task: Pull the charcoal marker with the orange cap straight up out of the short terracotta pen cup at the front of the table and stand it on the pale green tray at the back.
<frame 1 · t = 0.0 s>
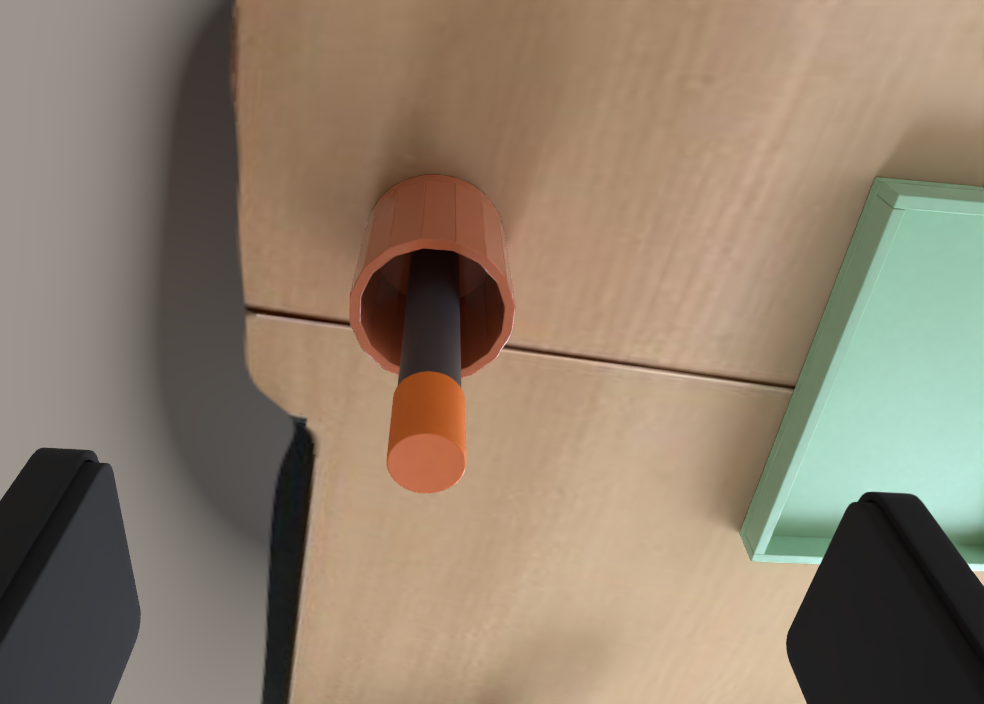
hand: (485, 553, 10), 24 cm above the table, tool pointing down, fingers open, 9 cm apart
tray: (940, 390, 40), on the table
marker: (435, 248, 33), point 1 cm above the table, touching pen cup
pen cup: (435, 240, 34), on the table, touching marker
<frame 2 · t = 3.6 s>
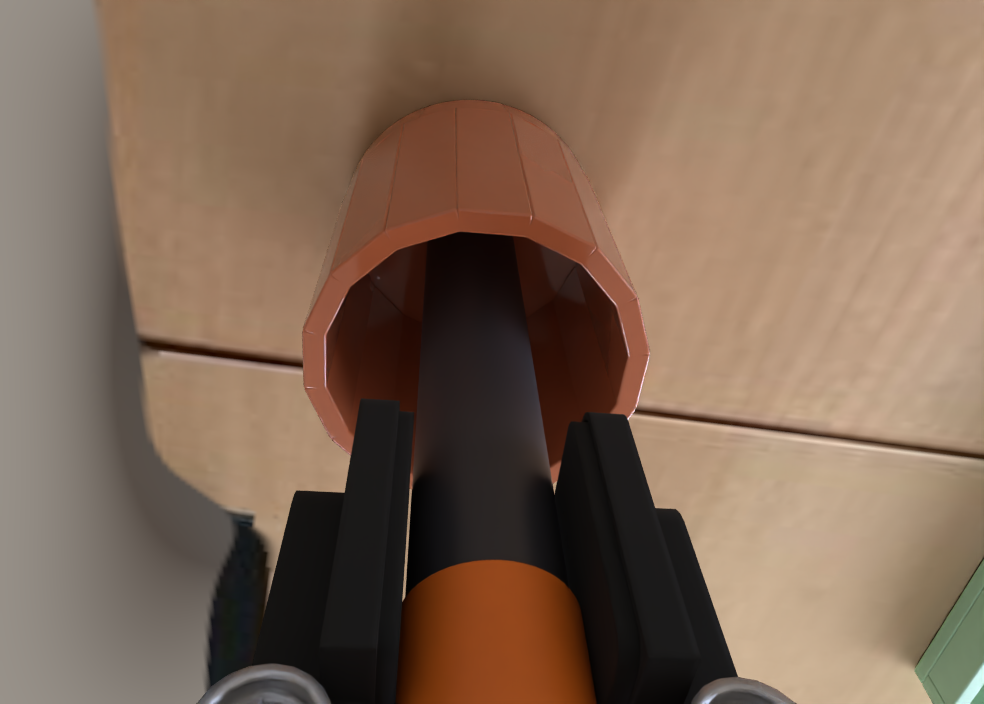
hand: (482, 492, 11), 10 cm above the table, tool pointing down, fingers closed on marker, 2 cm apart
marker: (470, 237, 19), point 1 cm above the table, touching gripper, pen cup
pen cup: (469, 223, 19), on the table, touching marker
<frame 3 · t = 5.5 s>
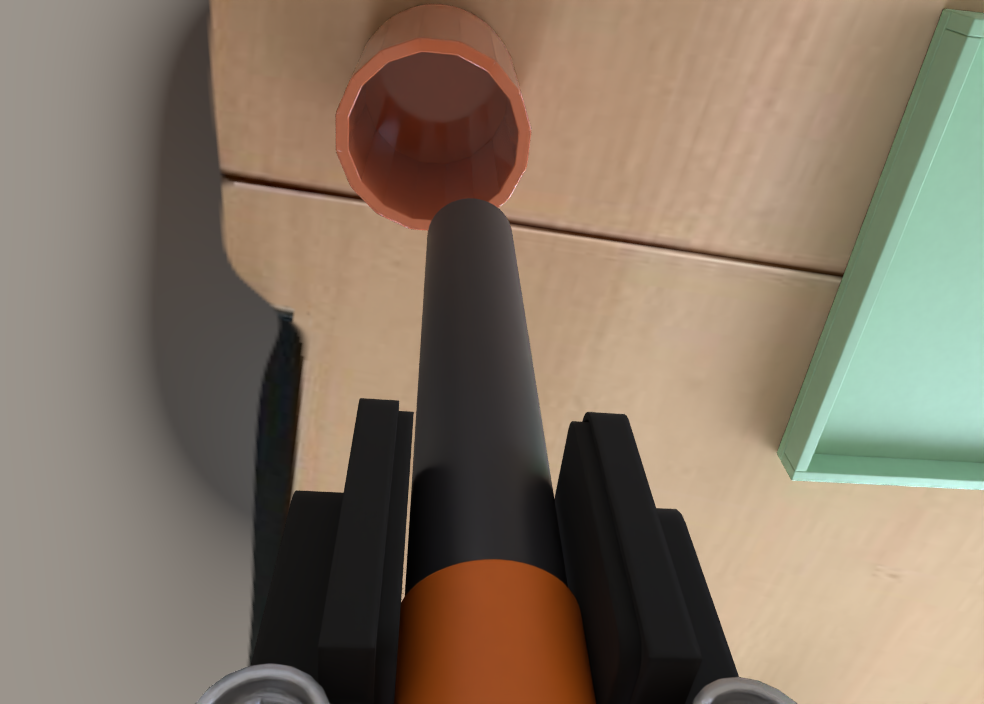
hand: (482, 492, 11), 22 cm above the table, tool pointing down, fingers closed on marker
marker: (469, 237, 19), point 13 cm above the table, touching gripper
pen cup: (437, 89, 30), on the table
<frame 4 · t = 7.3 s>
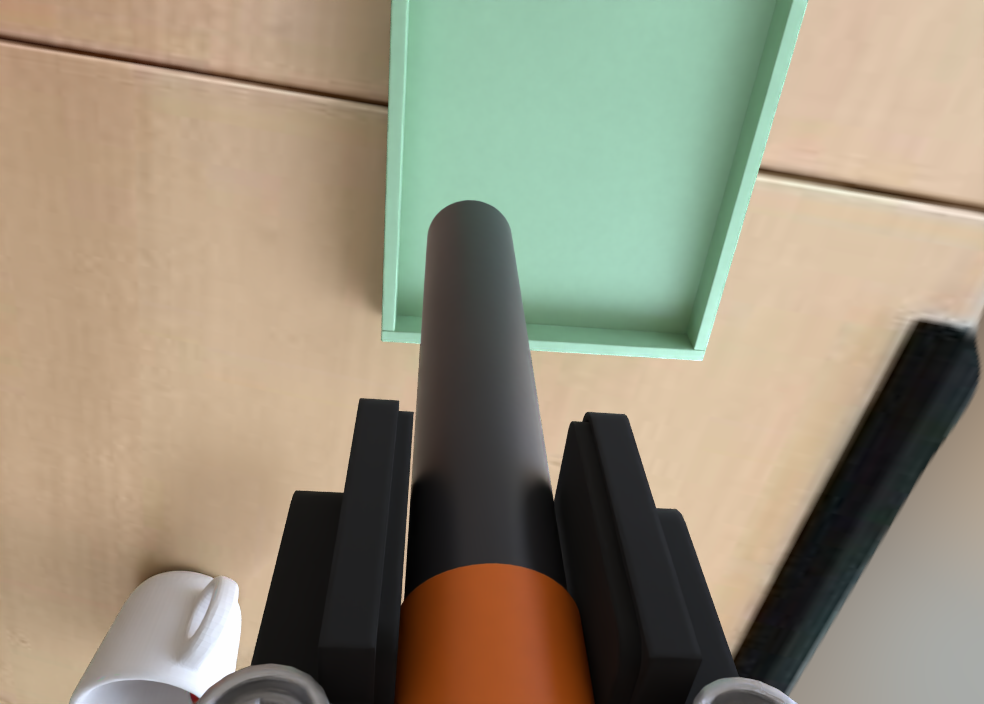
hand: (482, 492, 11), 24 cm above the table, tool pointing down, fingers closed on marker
tray: (574, 111, 33), on the table
marker: (469, 238, 19), point 16 cm above the table, touching gripper
cup: (201, 583, 47), on the table
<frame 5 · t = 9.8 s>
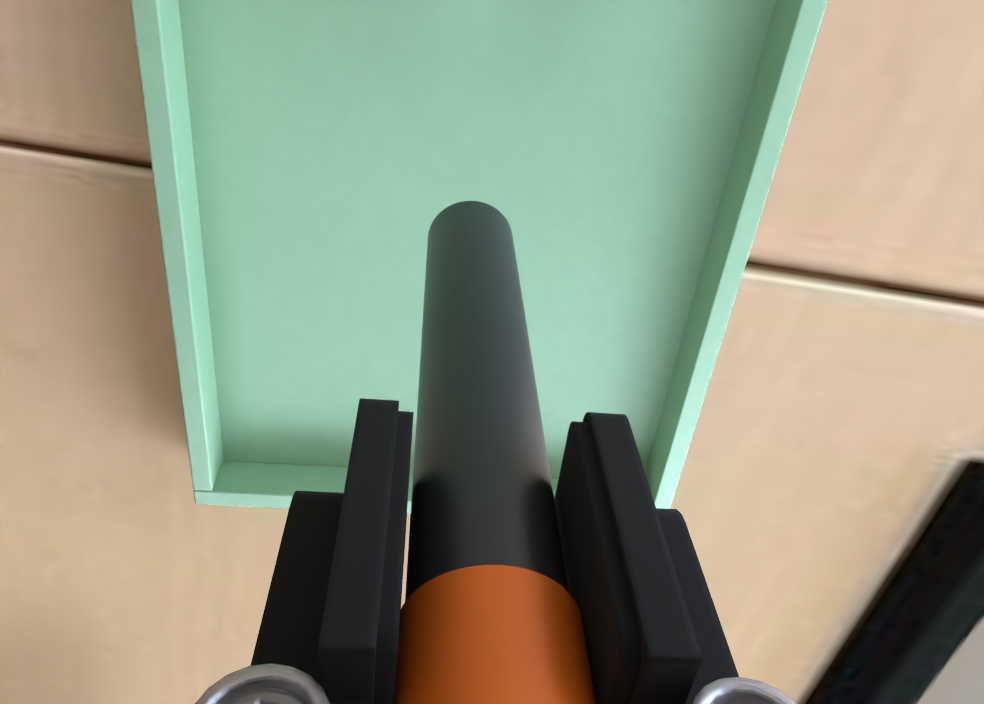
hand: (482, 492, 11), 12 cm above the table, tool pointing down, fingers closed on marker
tray: (464, 179, 22), on the table
marker: (470, 239, 19), point 4 cm above the table, touching gripper
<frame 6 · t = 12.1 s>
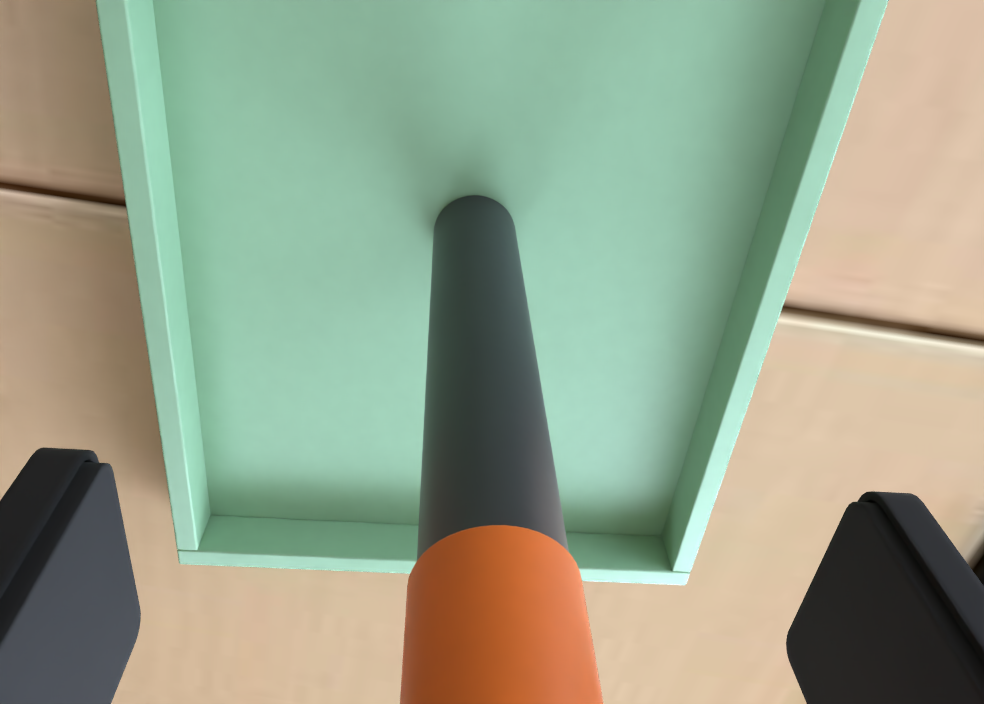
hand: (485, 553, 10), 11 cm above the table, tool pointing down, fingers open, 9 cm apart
tray: (471, 218, 20), on the table
marker: (474, 233, 19), point 1 cm above the table, touching tray
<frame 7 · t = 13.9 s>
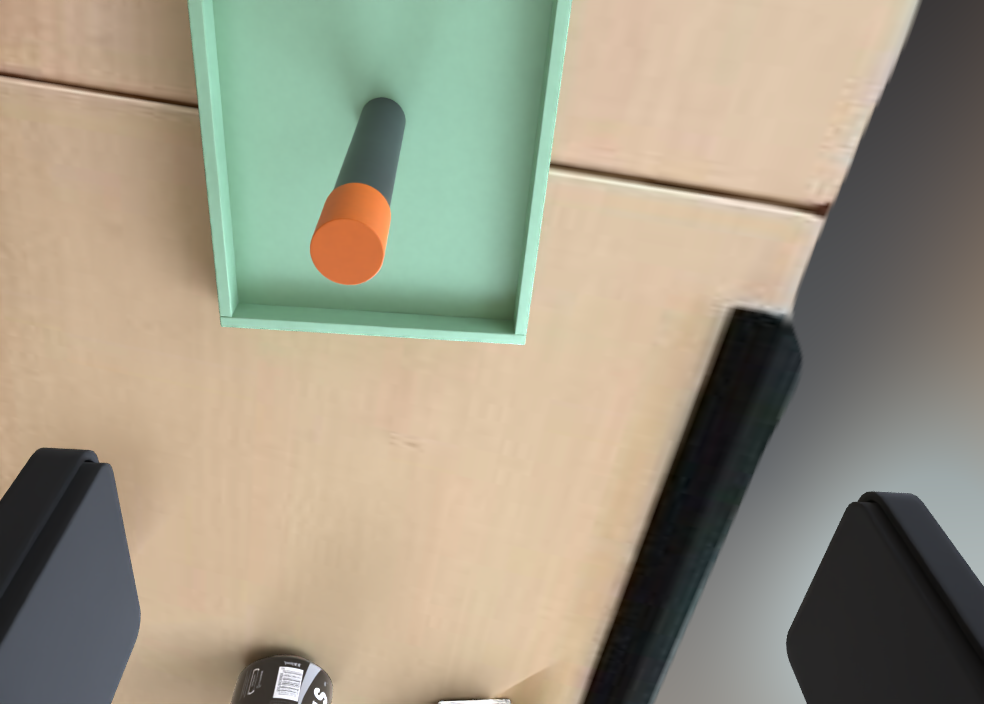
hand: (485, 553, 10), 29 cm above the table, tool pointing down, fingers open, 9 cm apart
tray: (382, 113, 36), on the table
beverage can: (288, 672, 57), on the table
marker: (383, 119, 35), point 1 cm above the table, touching tray
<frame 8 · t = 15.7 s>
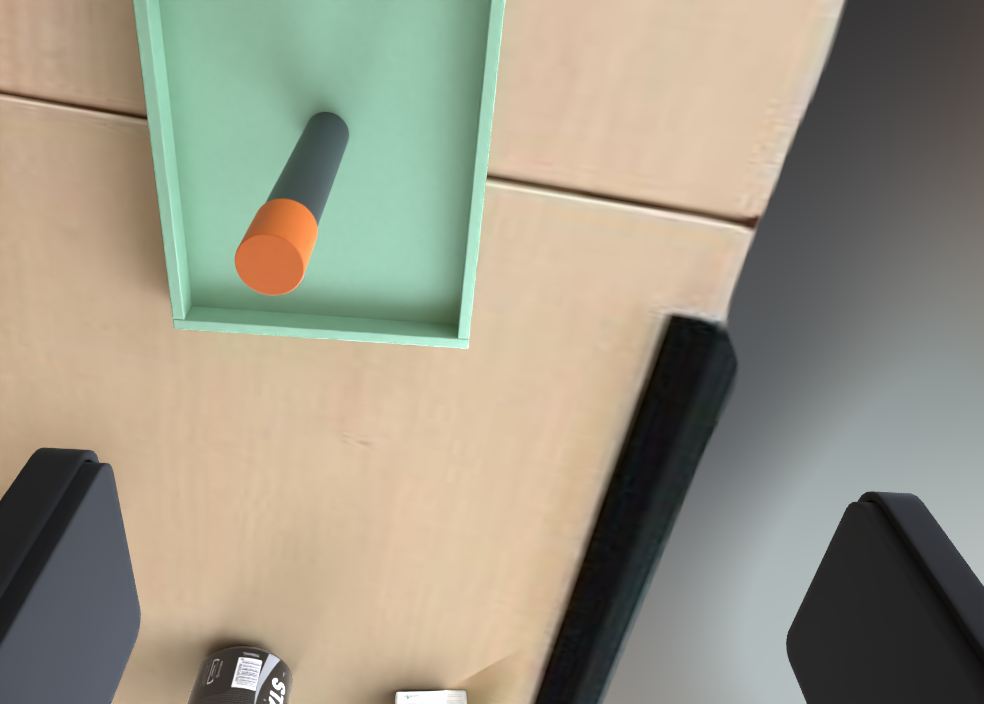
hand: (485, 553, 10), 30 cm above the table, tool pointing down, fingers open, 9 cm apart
tray: (327, 126, 37), on the table
beverage can: (249, 663, 59), on the table
marker: (327, 132, 37), point 1 cm above the table, touching tray
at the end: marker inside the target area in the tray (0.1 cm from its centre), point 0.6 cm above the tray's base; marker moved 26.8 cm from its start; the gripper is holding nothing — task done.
